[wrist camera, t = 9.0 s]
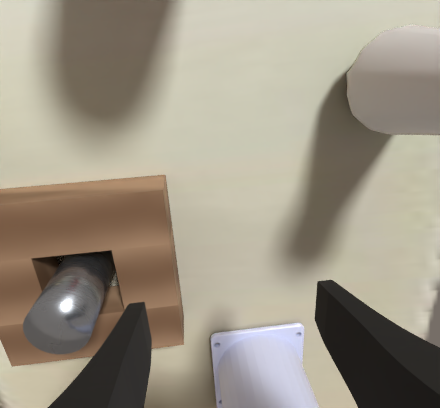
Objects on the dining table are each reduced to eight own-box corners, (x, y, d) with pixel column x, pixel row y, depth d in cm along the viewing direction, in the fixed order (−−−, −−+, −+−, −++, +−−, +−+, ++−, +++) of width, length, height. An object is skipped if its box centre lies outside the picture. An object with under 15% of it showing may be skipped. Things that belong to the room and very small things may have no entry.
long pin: (119, 277, 24) (96, 351, 18) (72, 280, 24) (31, 357, 17) (113, 237, 23) (86, 301, 16) (64, 239, 23) (15, 306, 16)
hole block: (183, 315, 26) (183, 344, 23) (30, 334, 25) (11, 366, 23) (165, 174, 22) (162, 190, 19) (-24, 191, 21) (-55, 210, 18)
